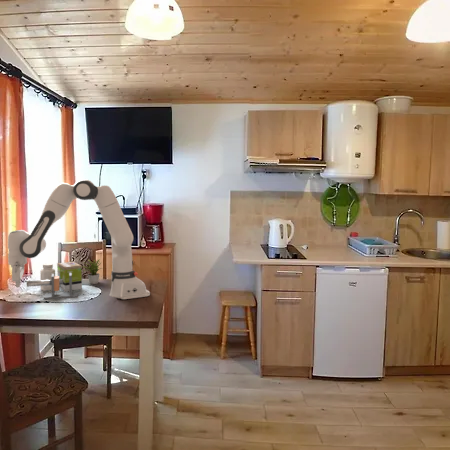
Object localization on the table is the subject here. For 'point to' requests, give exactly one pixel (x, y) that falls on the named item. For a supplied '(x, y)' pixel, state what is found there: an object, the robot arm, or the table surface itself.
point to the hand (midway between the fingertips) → (18, 286)
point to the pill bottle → (47, 275)
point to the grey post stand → (61, 294)
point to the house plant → (93, 272)
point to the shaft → (42, 283)
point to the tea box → (64, 274)
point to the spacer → (56, 283)
